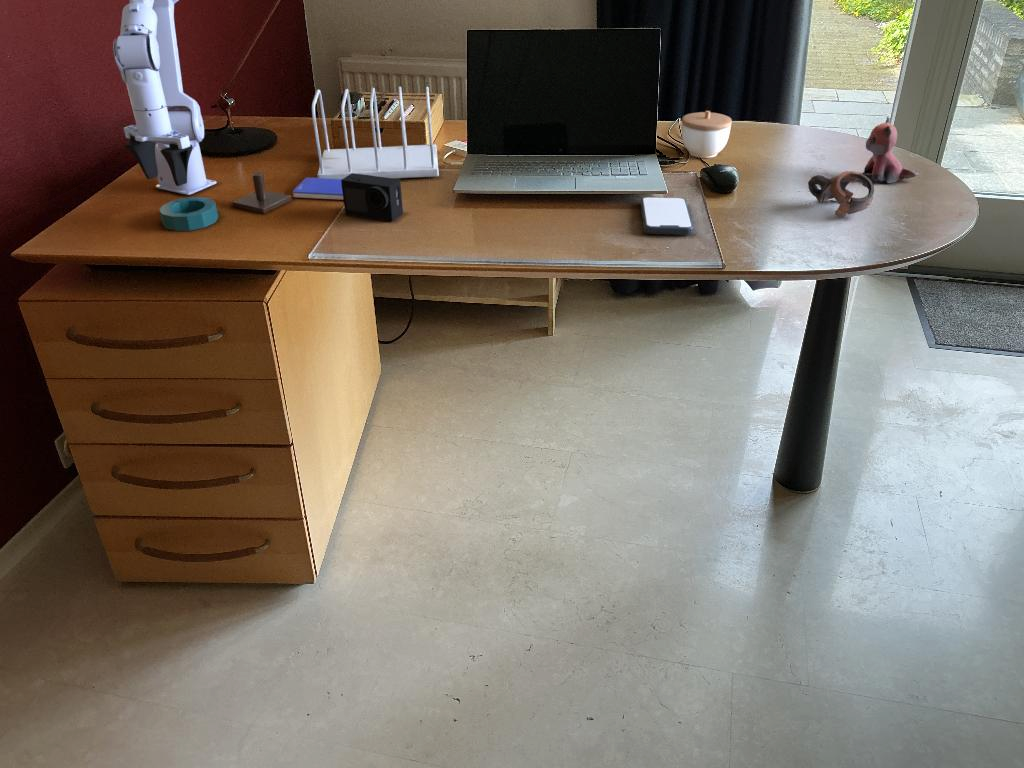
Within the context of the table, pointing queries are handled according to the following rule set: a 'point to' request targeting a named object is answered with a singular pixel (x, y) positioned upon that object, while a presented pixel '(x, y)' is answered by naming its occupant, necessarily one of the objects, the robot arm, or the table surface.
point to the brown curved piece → (841, 191)
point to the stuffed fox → (885, 155)
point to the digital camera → (372, 197)
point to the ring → (188, 213)
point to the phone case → (666, 216)
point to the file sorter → (375, 150)
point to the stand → (261, 197)
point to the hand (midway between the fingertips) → (167, 180)
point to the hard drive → (319, 189)
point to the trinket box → (705, 133)
